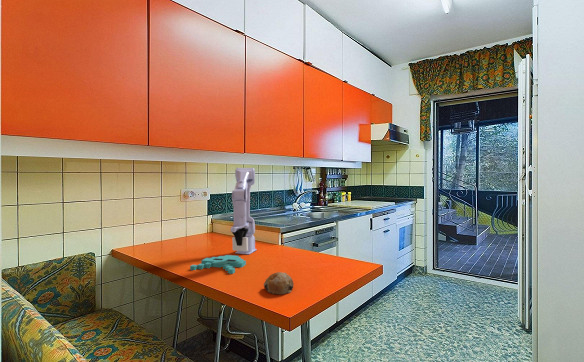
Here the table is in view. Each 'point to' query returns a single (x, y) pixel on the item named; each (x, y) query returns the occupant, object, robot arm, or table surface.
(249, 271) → the table surface
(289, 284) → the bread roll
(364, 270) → the table surface
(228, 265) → the alien figure
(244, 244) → the tile
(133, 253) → the table surface
